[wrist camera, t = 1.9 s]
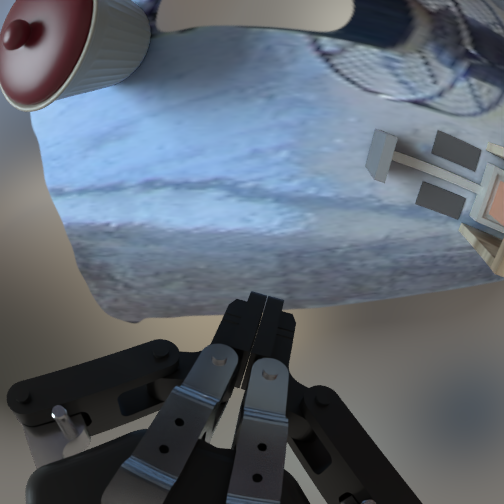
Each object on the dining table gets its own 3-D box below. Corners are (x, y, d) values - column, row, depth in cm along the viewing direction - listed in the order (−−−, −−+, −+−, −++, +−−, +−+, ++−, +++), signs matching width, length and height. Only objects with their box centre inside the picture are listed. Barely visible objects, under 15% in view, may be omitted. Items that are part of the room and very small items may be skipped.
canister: (174, -21, 30) (77, -74, 11) (172, 92, 38) (60, 97, 19) (77, 10, 33) (-24, -1, 15) (76, 108, 41) (-31, 131, 23)
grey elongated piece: (361, 177, 37) (370, 193, 31) (378, 117, 33) (390, 119, 27) (515, 235, 34) (539, 258, 28) (533, 187, 31) (561, 204, 24)
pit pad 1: (437, 130, 32) (438, 130, 32) (479, 149, 32) (480, 149, 31) (431, 152, 34) (432, 153, 34) (473, 171, 33) (474, 171, 33)
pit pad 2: (422, 181, 36) (423, 181, 36) (464, 197, 35) (465, 198, 35) (415, 203, 37) (415, 204, 37) (456, 218, 37) (457, 219, 36)
